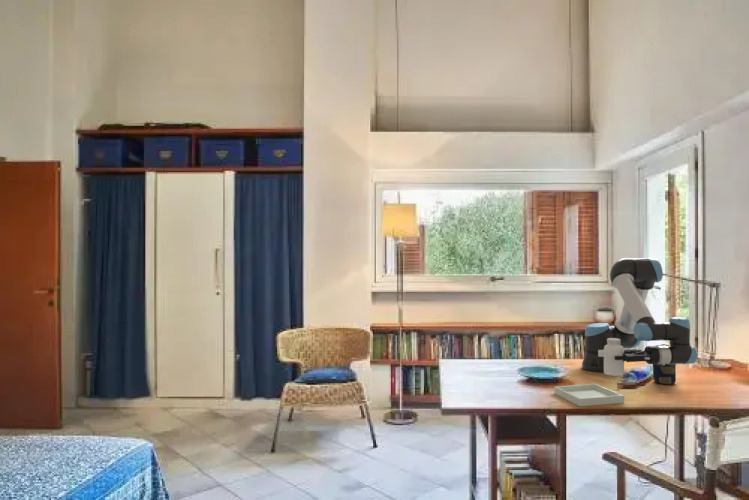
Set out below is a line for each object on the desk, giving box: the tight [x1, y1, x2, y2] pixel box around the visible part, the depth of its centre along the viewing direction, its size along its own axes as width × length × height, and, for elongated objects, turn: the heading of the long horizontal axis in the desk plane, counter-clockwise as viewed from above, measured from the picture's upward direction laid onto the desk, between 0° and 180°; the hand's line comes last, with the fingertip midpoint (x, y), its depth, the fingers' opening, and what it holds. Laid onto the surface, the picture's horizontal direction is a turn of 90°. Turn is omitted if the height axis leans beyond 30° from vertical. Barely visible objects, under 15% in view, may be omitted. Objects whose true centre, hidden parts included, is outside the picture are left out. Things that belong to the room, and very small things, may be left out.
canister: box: [652, 343, 677, 385], centre depth 260 cm, size 10×10×18 cm
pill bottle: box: [603, 338, 625, 377], centre depth 237 cm, size 8×8×15 cm
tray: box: [553, 383, 625, 407], centre depth 237 cm, size 20×20×3 cm
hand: (602, 355), depth 237 cm, fingers closed on pill bottle, 8 cm apart
